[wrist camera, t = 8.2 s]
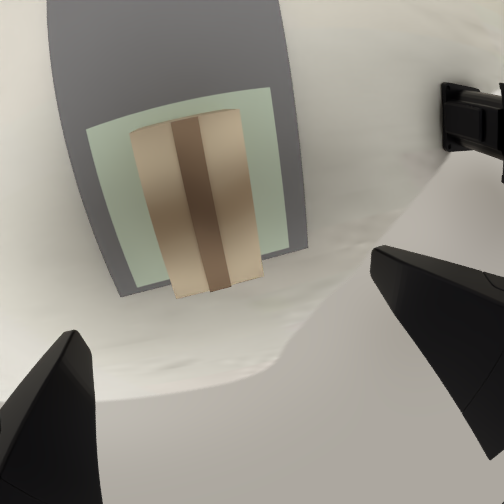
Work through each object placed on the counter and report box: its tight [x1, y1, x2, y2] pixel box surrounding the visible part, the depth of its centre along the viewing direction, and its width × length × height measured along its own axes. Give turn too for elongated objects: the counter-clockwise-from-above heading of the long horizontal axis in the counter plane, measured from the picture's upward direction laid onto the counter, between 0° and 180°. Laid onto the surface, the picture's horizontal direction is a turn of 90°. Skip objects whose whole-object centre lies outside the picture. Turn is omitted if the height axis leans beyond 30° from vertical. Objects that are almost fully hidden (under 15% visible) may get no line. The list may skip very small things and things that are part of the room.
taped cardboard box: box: [129, 109, 264, 299], centre depth 16 cm, size 9×5×4 cm, turn 8°
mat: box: [47, 0, 308, 297], centre depth 14 cm, size 14×28×1 cm, turn 8°
